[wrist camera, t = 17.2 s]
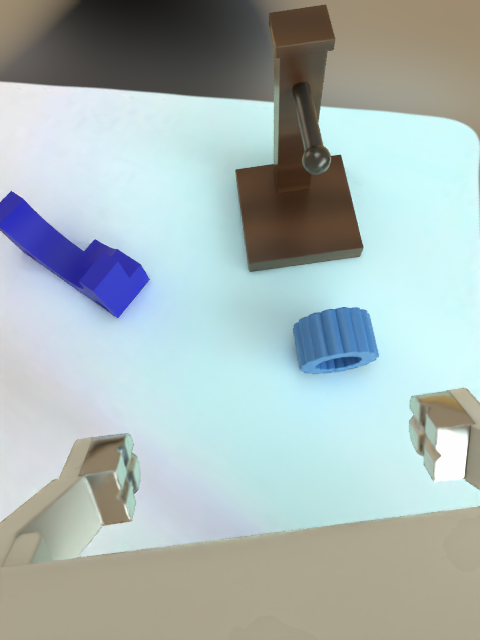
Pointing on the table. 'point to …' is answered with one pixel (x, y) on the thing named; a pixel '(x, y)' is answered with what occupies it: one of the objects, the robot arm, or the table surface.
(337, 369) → the fluted cylinder
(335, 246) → the hook stand
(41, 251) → the cable clip
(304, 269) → the table surface
